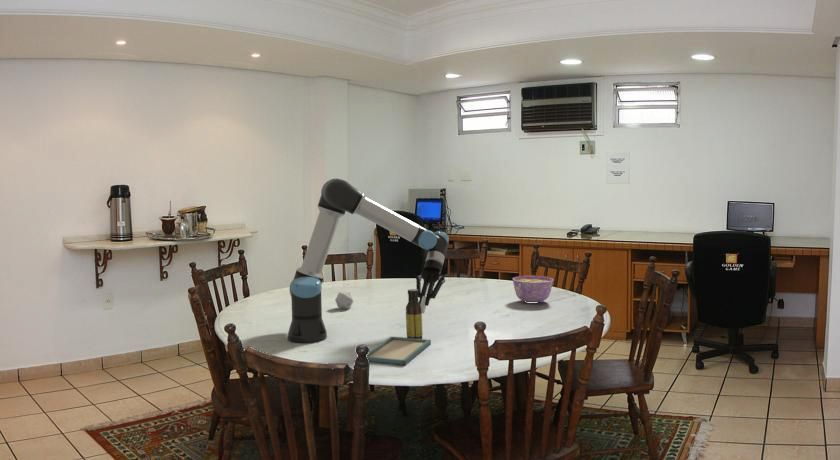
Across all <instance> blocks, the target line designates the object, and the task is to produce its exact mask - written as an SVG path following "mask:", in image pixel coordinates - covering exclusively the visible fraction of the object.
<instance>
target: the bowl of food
mask: <svg viewBox="0 0 840 460" xmlns="http://www.w3.org/2000/svg"><path fill="white" fill-rule="evenodd" d="M512 283H513V288H514V291H515V295H516V297H517V298H518V299H520V300H521V301H523V302H524V301H526V302H541V303H542V302H545V301H546V300H547V299H548V298H549V297H550V294H551V291H552V287H553V283H554V278H552V277H549V276H541V275H518V276H514V277H512Z"/></svg>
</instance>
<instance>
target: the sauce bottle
mask: <svg viewBox="0 0 840 460" xmlns="http://www.w3.org/2000/svg"><path fill="white" fill-rule="evenodd" d="M407 297H408V300H407V301H408V302H407V304H406V306H405V323H406V324H405V326H406V338H415V339H423V335H424V334H423V313H422V312H421V305H420V304H419V298H418V289H416V288H411V289H407Z"/></svg>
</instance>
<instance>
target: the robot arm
mask: <svg viewBox="0 0 840 460" xmlns="http://www.w3.org/2000/svg"><path fill="white" fill-rule="evenodd" d="M320 191H321V192H320V193H321V195H320V197H319V199H318V200H319V201H318V204H317V208H318V211H319V213H318V216H317V218H316V222H315V225H314V228H313V231H312V234H311V237H310V240H309V243H308V245H307V249H306V252H305V254H304V258H303V261H302V264H301V266H300V267H298V268H296V270H295V274H294V276H293V279H292V281H291V282H290V284H289V294H290V299H291V322H290V326H289V328H288V332H287V340H288V341H290V342H292V343H300V344H303V343H305V344H306V343H307V344H308V343H317V342H320V341H324V340H326V339H327V337H328V336H327V335H328V334H327V333H328V332H327V329H326V327H325V322H324V320H323V315H322V314H323V311H322V309H323V308H322V305H323V304H322V302H323V301H322V284H323V282H324V279H325V277H324V275H323V270H324V266H325V263H326V260H327V257H328V256H329V255H328V254H329V252H330V247H331V245H332V242H333V239H334V236H335V234H336V233H335V232H336V230H337V227H338V224H339V221H340V219H341V218H342V217H344V216H345V214H346V212H347V213H349V214H351V215H358V216H360V217H362V218H364V219H367V220H369V222H372V223H374V224H376V225H378V226H380V227H382V228H384V229H385V230H387V231H389V232H391V233H393V234H395V235H397V236H400V237H401V238H403V239H405V240H406V241H409V242H410V243H412V244H414V245H416V246H418V247H420V248H422V249H423V250H426V251H428V252H427V255H426V259H425V263H424V266H423V269H422V270H423V271H422V272H421V273H420V275H417V274H416V275H415V276H414V277H415V278H414V279H415V280H416V288H415V289H418V302H419V304H420V305H421V312H422V315H423V314H425V312H426V306H429V304H430V300H431V299H432V300H433V299H436V297H437V295H438V293H439V291H440V289H441V287H442V285H443V284H445V283H446V279H445V277H444V276H442V275H441V274H442V270H443V266H444V262H445V258H446V253H447V250H448V247H449V241H450V237H449V234H447V233H445V232H444V231H439V230H438V231H435V232H433V230H429V229H427V228H425V227H423V226H421V225H420V224H418V223H416V222H414V221H412V220H410V219H408V218H407V217H404V216H402V215H400V214H399V213H397V212H395V211H393V210H392V209H389V208H387V207H386V206H383V205H382V204H380V203H378V202H376V201H374V200H373V199H371V198H368V197H366V196H365V193H364V192H363V191H360V190H359V189H358V188H356V187H354V186H353V185H352V184H351V183H349V182H348V181H346V180H344V179H340V178H332V179H329V180H327V181H326V182H325V183H324V184H323V186H322V188H321V190H320ZM422 280H423V283H421V281H422ZM421 284H422V286H421Z"/></svg>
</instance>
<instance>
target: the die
mask: <svg viewBox="0 0 840 460" xmlns="http://www.w3.org/2000/svg"><path fill="white" fill-rule="evenodd" d="M334 300H335V303H336V305H337V308H338V310H350V309H351V307H352V305H353V303H354V300H353V297H352V294H351V292H349V291H343V292H341V291H339V292H338V294H337V295H336V297H335V299H334Z"/></svg>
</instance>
